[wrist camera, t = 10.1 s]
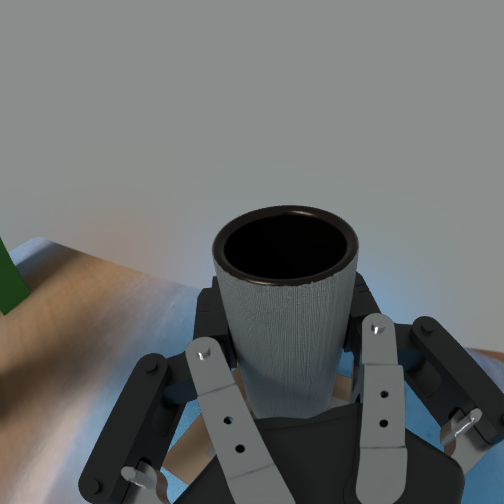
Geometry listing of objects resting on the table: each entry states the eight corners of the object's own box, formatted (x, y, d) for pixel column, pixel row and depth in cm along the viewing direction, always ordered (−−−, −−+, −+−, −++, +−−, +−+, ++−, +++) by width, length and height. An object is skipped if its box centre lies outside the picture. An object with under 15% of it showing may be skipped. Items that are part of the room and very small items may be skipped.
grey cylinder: (279, 352, 17) (267, 195, 11) (343, 383, 15) (377, 222, 9) (232, 405, 14) (180, 252, 9) (301, 446, 12) (316, 309, 6)
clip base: (162, 465, 19) (151, 458, 18) (256, 348, 30) (253, 334, 28) (327, 550, 11) (332, 553, 10) (399, 398, 22) (407, 386, 21)
